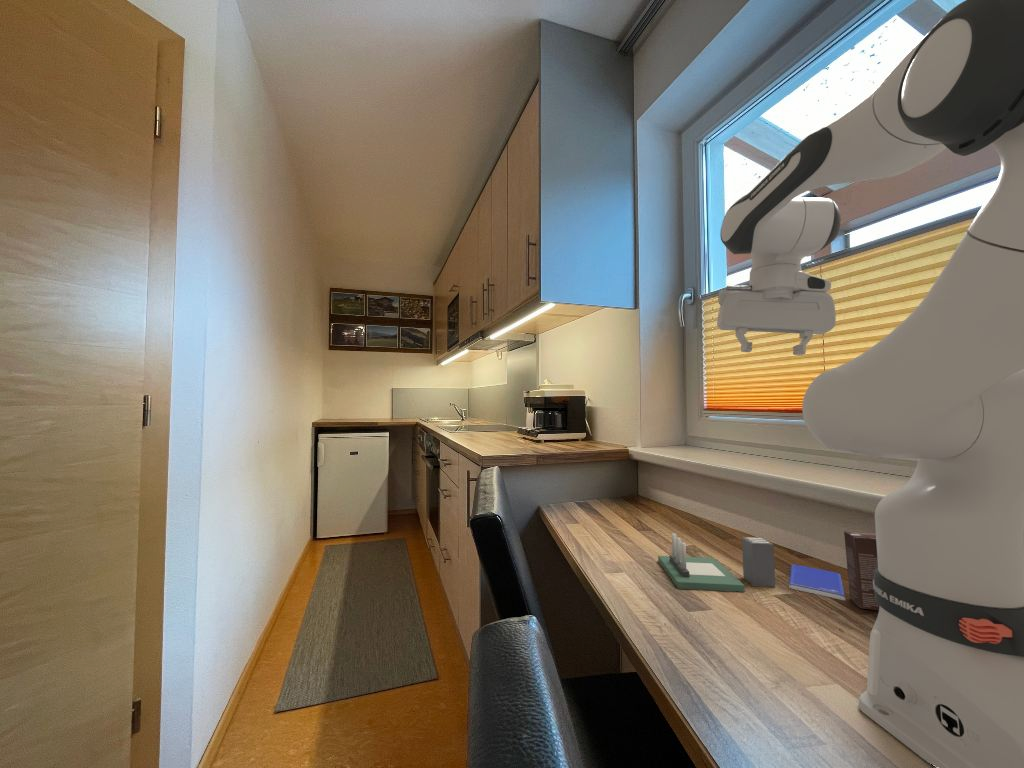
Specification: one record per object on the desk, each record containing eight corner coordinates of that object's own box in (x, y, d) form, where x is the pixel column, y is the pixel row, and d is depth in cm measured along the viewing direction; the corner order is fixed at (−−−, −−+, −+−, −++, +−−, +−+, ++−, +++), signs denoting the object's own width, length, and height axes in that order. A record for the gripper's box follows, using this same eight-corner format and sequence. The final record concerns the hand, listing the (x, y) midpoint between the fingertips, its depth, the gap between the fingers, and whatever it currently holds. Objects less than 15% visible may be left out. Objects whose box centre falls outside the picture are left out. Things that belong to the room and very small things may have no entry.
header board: (744, 591, 73) (743, 552, 74) (677, 588, 74) (676, 549, 75) (714, 563, 87) (713, 530, 87) (658, 561, 88) (657, 528, 89)
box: (888, 603, 69) (884, 533, 70) (904, 615, 65) (899, 540, 66) (846, 597, 71) (842, 529, 72) (859, 609, 67) (854, 536, 68)
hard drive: (845, 594, 70) (840, 573, 80) (789, 582, 75) (791, 563, 85) (845, 604, 70) (840, 580, 80) (789, 591, 75) (791, 571, 84)
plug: (775, 587, 75) (773, 543, 76) (753, 586, 76) (751, 542, 76) (764, 578, 79) (762, 537, 80) (743, 577, 80) (741, 536, 80)
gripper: (723, 279, 79) (720, 346, 77) (841, 281, 74) (840, 352, 73) (714, 290, 85) (711, 353, 83) (822, 293, 80) (821, 359, 79)
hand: (772, 353), depth 78 cm, fingers open, 8 cm apart
